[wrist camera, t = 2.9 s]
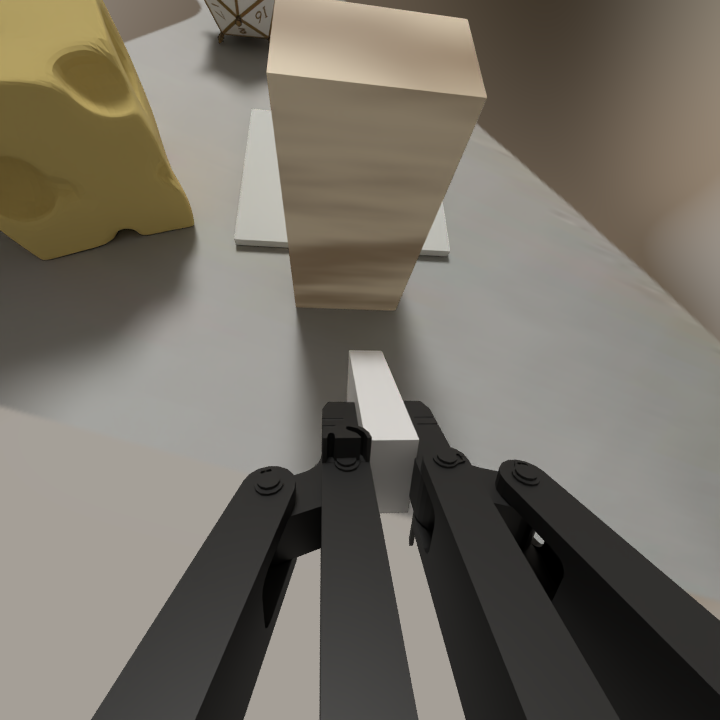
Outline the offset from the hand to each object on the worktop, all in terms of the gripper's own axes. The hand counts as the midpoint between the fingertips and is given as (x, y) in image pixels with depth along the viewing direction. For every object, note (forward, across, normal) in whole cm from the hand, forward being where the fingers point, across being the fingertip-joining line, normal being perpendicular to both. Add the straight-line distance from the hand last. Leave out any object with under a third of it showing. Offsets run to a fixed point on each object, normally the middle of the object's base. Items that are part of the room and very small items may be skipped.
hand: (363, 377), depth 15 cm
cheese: (+16, -18, +7) cm, 25 cm away
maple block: (+11, 0, +2) cm, 11 cm away
